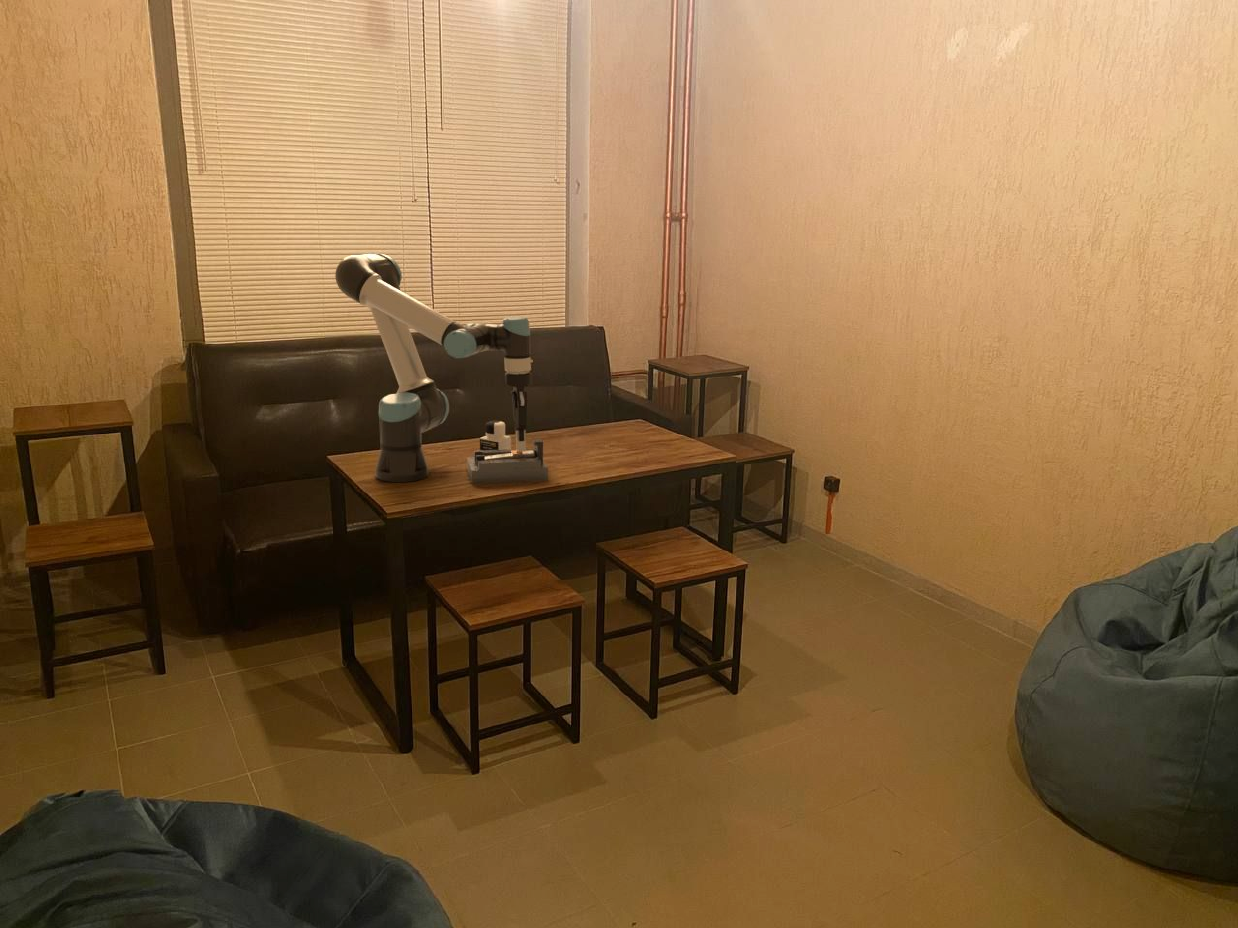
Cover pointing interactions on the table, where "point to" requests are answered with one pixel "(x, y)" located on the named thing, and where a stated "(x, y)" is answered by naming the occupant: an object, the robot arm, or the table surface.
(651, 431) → the table surface
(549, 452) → the table surface
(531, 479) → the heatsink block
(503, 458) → the strap
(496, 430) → the medicine bottle
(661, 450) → the table surface
